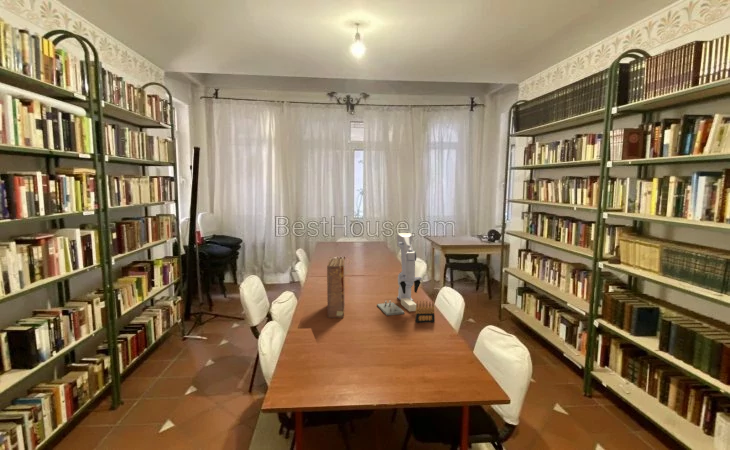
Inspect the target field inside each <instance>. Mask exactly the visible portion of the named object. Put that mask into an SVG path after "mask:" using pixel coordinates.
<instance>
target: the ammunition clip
mask: <svg viewBox="0 0 730 450" xmlns="http://www.w3.org/2000/svg"><path fill="white" fill-rule="evenodd" d="M422 301H423V302H422ZM422 301H421V300H420V301H416V302H415V303H416V311H415V317H414V322H415V323H416V324H420V323H421V324H422V323H424V324H425V323H435V321H436V318H435V316H436V315H435V301H433V300H432V302H431V300H429V302H428V301H427V300H426V301H424V300H422Z"/></svg>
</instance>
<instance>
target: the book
mask: <svg viewBox="0 0 730 450" xmlns="http://www.w3.org/2000/svg"><path fill="white" fill-rule="evenodd" d="M326 275H327V277H326V283H327V284H326V286H327V287H326V289H327V290H326V291H327V293H326V295H327V301H326V302H327V319H329V318H339V319H340V318H344V316H345V303H346V302H345V297H346V296H345V295H346V294H345V287H346V286H345V258H331V257H329V259H328V262H327V267H326Z"/></svg>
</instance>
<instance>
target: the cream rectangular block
mask: <svg viewBox="0 0 730 450" xmlns="http://www.w3.org/2000/svg"><path fill="white" fill-rule="evenodd" d="M416 303H417V302H415V301H414V300H413V301H412V300H410V299H409V298H401V300H400V305H401V306H402V307H404V309H406V310H407V311H408V312H416Z"/></svg>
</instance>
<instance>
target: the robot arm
mask: <svg viewBox="0 0 730 450" xmlns="http://www.w3.org/2000/svg"><path fill="white" fill-rule="evenodd" d="M412 242H413V234H412V232H402V233H401V232H397V234H396V244H397V247H399V250H400V259H401V272H400V273H398V274H397V285H398V290H397V293H398V294H397V295H398V296H396V297H397V299H398V300H399V301H401V298H409V299H410V300H412V301H413V302H414V299H413V298H412V288H414V290H413V291H414V293H415V294H417V293H418V289H419V287H420V285H421V284H422V283H421V281H422V276H416V261H417V252H416V251H415V250H414V247H413V245H412Z"/></svg>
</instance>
